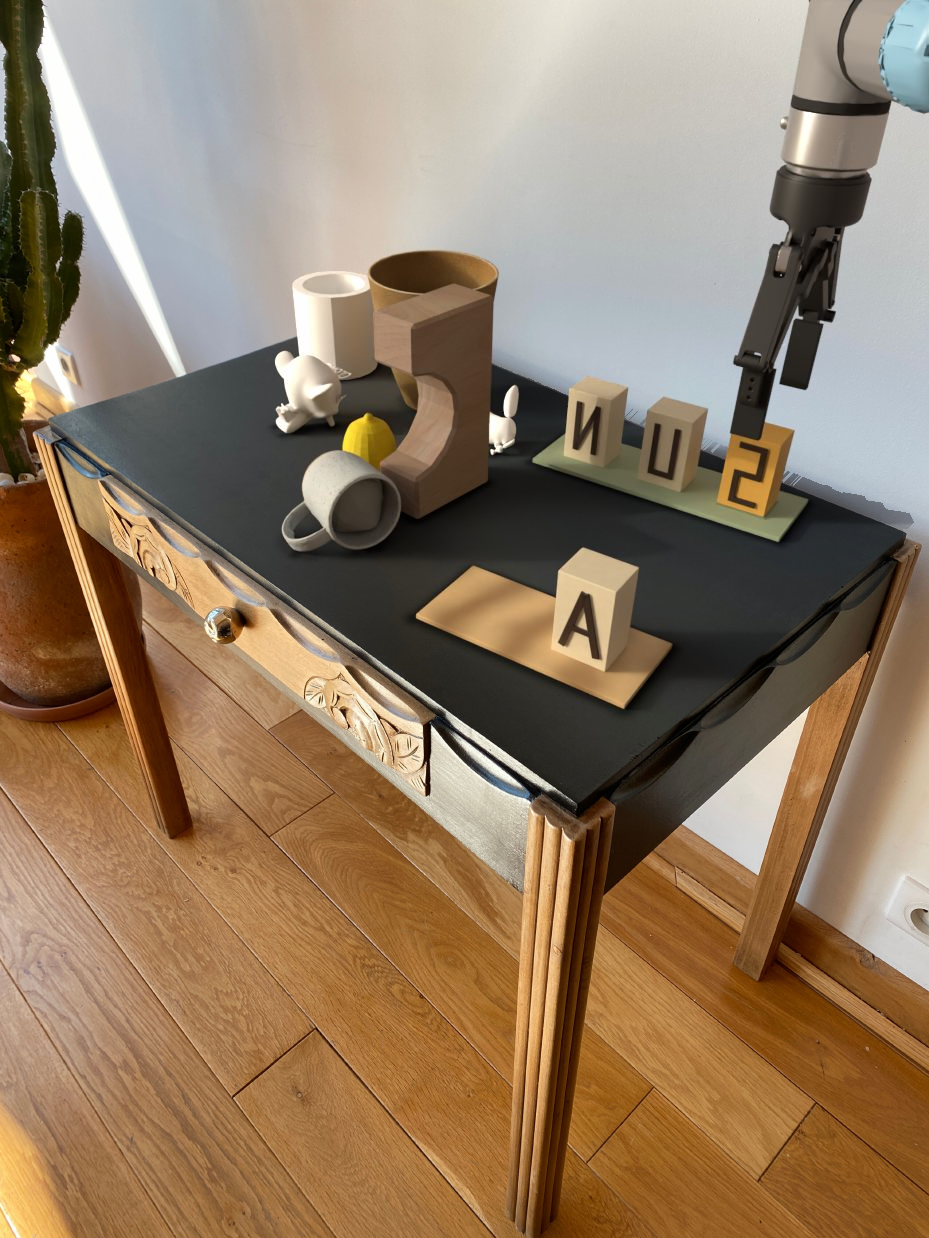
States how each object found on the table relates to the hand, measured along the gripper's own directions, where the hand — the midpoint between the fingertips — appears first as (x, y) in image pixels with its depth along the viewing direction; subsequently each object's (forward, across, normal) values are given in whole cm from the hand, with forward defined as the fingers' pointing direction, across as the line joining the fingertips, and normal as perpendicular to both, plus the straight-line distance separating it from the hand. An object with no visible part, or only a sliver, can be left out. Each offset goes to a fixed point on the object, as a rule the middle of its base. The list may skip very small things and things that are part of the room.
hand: (770, 410), depth 88 cm
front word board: (+11, +30, -7) cm, 33 cm away
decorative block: (+11, +16, -28) cm, 34 cm away
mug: (+10, -5, -58) cm, 59 cm away
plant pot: (+11, -2, -41) cm, 43 cm away
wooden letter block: (+10, 0, -18) cm, 21 cm away
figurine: (+11, +11, -49) cm, 52 cm away
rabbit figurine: (+11, +2, -29) cm, 31 cm away
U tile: (+10, 0, -9) cm, 14 cm away
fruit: (+11, +18, -35) cm, 41 cm away
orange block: (+10, 0, 0) cm, 10 cm away
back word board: (+11, 0, -9) cm, 14 cm away
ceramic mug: (+11, +28, -31) cm, 43 cm away
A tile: (+11, +30, -3) cm, 32 cm away
